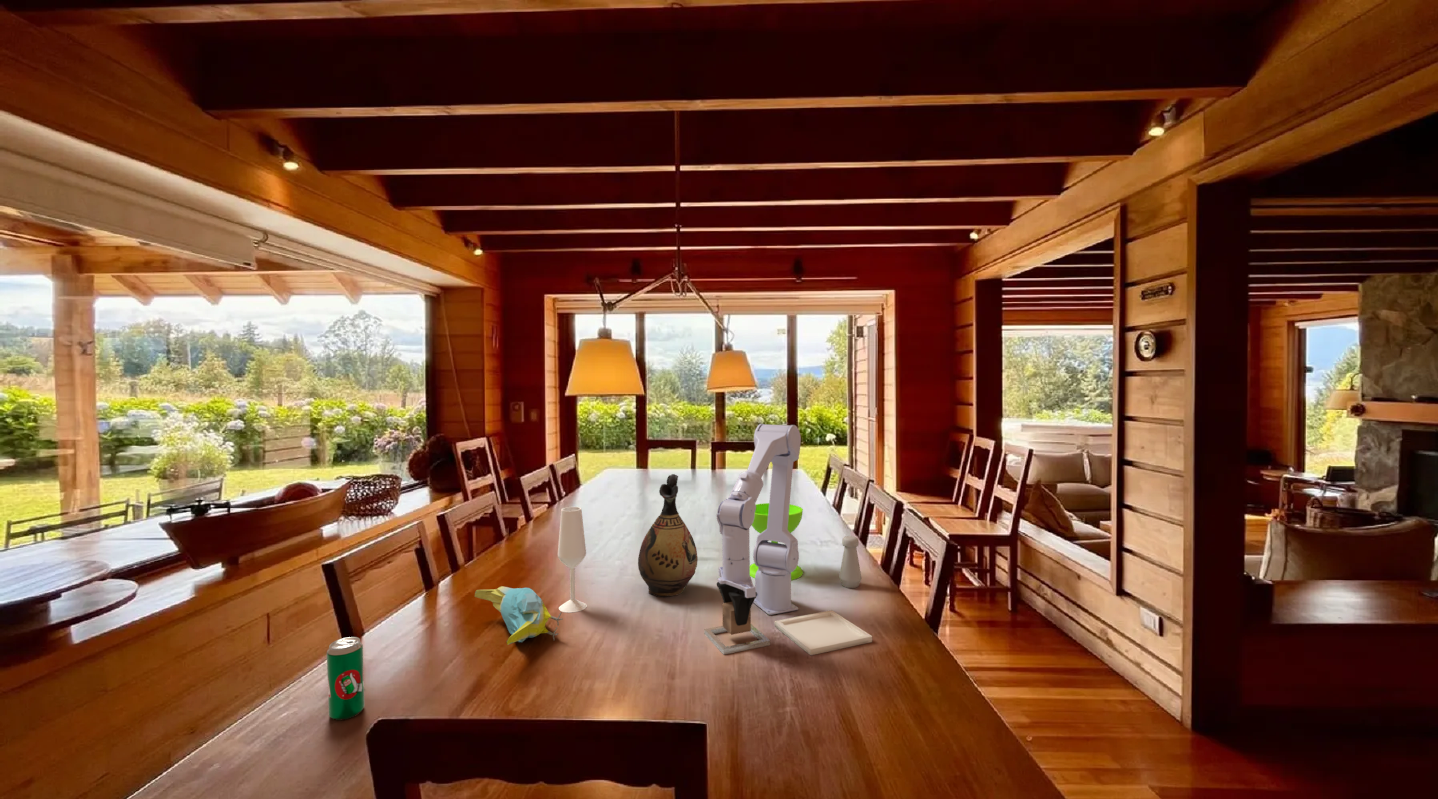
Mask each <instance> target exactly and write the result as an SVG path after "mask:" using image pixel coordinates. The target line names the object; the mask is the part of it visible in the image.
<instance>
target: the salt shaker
mask: <svg viewBox="0 0 1438 799" xmlns="http://www.w3.org/2000/svg"><path fill="white" fill-rule="evenodd" d="M841 542H842V543H841V544H842V546H843V547H844V548H843V554H842V559H841V566H840V569H839V575H838V578H839V580H840V584H841V585H842V586H843V587H845V588H848V589H855V588H858V587H860V586H859V585H860V583H861V581H862V572H861V566H860V560H859V554H858V549H857V547H859V544H860V543H859V542H860V540H859V538H858V537H856V536H853V535H848V536H843V537H842V541H841Z"/></svg>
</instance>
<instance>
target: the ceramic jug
mask: <svg viewBox="0 0 1438 799" xmlns="http://www.w3.org/2000/svg"><path fill="white" fill-rule="evenodd" d="M678 480H679V475H677V474H675V473H674V474H673V473H672V474H668V477H667V479H666V483H663V484H661V485H660V487H659V492H658V493H659V495H660V496H661V497H662V498H663V506H662V509H661V513H660V514H659V515H658V517H657V518H656V519H655V521H654V522H653V523H652V524H651V526H650V528H649V529H648V531H647V533H646V534H645V536H644V538H643V540H642V542H641V545H640V549H639V553H638V559H637V567H638V570H639V575H640V577H641V579H642V580H643V581H644V583H645V585H647V587H648V588H647V589H648V594H649V595H653V596H655V597H659V598H667V597H675V596H678V595H680V594H682V593H683V592H684V591H685V590H684V589H685V588H686V586H687V585H688V583H689V582H690V581H691V580H692V578H693V576H694V575H695V574H696V570H697V567H698V550H697V546H696V543H695V540H694V538H693V535H692V534H691V532H690V530H689V529H688V527H687V525H686V523H685V521H684V520H683V519H682V517H681V516H680V514H679V513H680V512H679V511H678V509H677V504H676V502H677V497H678V496H677V495H678V494H679V486H678Z"/></svg>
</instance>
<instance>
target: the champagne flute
mask: <svg viewBox="0 0 1438 799" xmlns="http://www.w3.org/2000/svg"><path fill="white" fill-rule="evenodd" d="M559 518H560V519H559V520H560V522H559V533H558V546H557V548H558V549H557V558H558V559H559V561H560V563H562V564H563V565H564V566H566V567H567V568H569V592H570V593H569V595H570V596H569V598H570V599H569V600H567V601H565V602H564V603H562V604H561V605H560V606H559V607H558V610H559V611H560V612H562V613H567V614H568V613H578V612H582V611H583V610H586V608H587V606H588V604H587V603H585V602H583V601H581V600H578V599H576V570H575V569H576V567H578V566H579V565H580V564H581V563H582V562H583V560H584V559H585V557H586V556H587V549H586V547H587V546H586V538H585V530H584V520H583V513H582V507H580V506H567V507H562V508H561V510H560V517H559Z"/></svg>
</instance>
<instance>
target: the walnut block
mask: <svg viewBox="0 0 1438 799" xmlns="http://www.w3.org/2000/svg"><path fill="white" fill-rule="evenodd" d="M751 609H752V608H751ZM751 609H750V612H749V616H748V620H747V624H745V625H740V626H738V625H737V624H736V620H735V613H734V607H733V603H732V602H728V603H724V602H723V603H722V626H723V627H724V628H725V629H726V630H727V631H728V632H727V633H729V635H730V636H732V635H737V634H742V633H743V634H744V633H748V632H750V631H751V624H752V623H751V622H752V621H751V620H752V617H751V616H752V615H751V614H752V611H751Z"/></svg>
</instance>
